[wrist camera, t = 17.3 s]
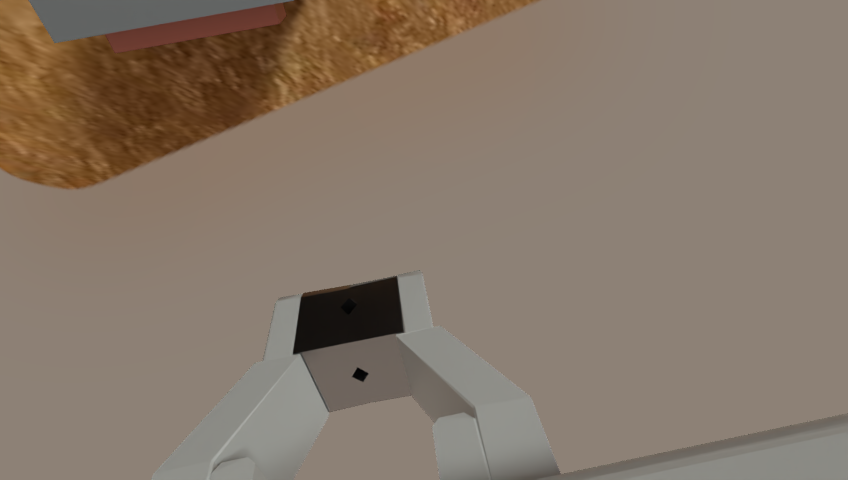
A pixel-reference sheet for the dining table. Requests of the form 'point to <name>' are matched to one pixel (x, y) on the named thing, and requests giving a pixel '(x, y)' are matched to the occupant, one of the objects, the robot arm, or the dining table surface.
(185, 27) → the red button
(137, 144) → the dining table surface
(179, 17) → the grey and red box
